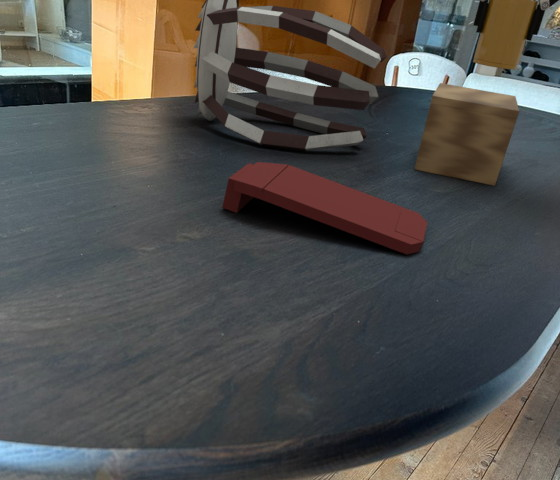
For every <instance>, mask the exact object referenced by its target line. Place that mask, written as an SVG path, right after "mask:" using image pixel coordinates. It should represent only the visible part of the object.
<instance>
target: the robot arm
mask: <svg viewBox="0 0 560 480" xmlns="http://www.w3.org/2000/svg"><path fill="white" fill-rule="evenodd" d="M537 1H538V3H537V6H536V10H535V13H534V16H533V19H532V22H531V25H530V28H529V32H528V35H527V38H526V41H529V42H531V41H532V40H533V37H534V36H538V34H539V31H540V29H541V25H542V22H543V20H544V16H545V12H546V11H547V10H548V9H549V8H551V7H552V6H554V5H556V3H558V2H560V0H537ZM488 5H489V0H479V1H478V7H477V10H476V14H475V17H474V21H473V25H472V26H475V27H476V31H475V32H476V33H477V34H478V33H479V34H480V33H481V31H482V27H483V24H484V20H485V16H486V13H487V9H488Z"/></svg>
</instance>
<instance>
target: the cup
mask: <svg viewBox="0 0 560 480" xmlns="http://www.w3.org/2000/svg"><path fill="white" fill-rule="evenodd" d="M488 3H489V5H488V9H487V13H486V16H485V20H484V24H483V27H482V31H481V32H480V33H479V37H478V40H477V44H476V48H475V51H474V56H473V59H472V62H473V63H475V64H477V65H481V66H486V67H491V68H497V69H503V70H504V69H505V70H517V69H518V67H519V64H520V61H521V57H522V54H523V51H524V48H525V44H526V41H527V40H526V38H527V35H528V32H529V28H530V25H531V22H532V19H533V16H534V13H535V10H536V8H537V5H538V4H539V3H538V0H488Z"/></svg>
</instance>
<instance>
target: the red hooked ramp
mask: <svg viewBox="0 0 560 480" xmlns="http://www.w3.org/2000/svg"><path fill="white" fill-rule="evenodd" d="M254 198H255V199H259V200H262V201H264V202H266V203H269V204H272V205H274V206H276V207H280V208H282V209H285V210H288V211H290V212H293V213H295V214H298V215H301V216H304V217H306V218H309V219H311V220H314V221H317V222H320V223H322V224H324V225H328V226H330V227H332V228H336V229H338V230H341V231H342V232H346V233H348V234H351V235H354V236H356V237H359V238H362V239H365V240H367V241H370V242H372V243H375V244H377V245H380V246H383V247H386V248H387V249H391V250H394V251H396V252H398V253H402V254H404V255H410V254H415V253H419V252H420V251H421V248H422V246H423V244H424V241H425V236H426V232H427V226H428V221H427V220H426V219H425V218H424V217H423V216H422V214H420V213H419V212H417V211H414V210H412V209H408V208H407V207H404V206H400V205H398V204H396V203H392V202H390V201H387V200H384V199H381V198H379V197H377V196H374V195H371V194H368V193H366V192H363V191H360V190H357V189H355V188H352V187H350V186H347V185H344V184H342V183H338V182H336V181H333V180H330V179H328V178H325V177H323V176H320V175H317V174H315V173H311V172H309V171H306V170H304V169H302V168H298V167H296V166H293V165H289V164H286V163H285V164H284V163H275V162H274V163H273V162H262V161H257V162H255V163H251V162H249V163H247V164H246V165H244V166H243V167H242V168H240V169H239V170H237V171H236V172H235V173H233V174H232V175H231V176H229V177H228V180H227V185H226V188H225V193H224V198H223V201H222V208H223V209H225V210H228V211H231V212H233V213H235V214H237V213H239V212H240V211H241V210H242V209H243V208H244V207H245V206H246V205H247V204H249V203H250V201H252V200H253V199H254Z"/></svg>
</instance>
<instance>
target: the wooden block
mask: <svg viewBox="0 0 560 480" xmlns="http://www.w3.org/2000/svg"><path fill="white" fill-rule="evenodd" d="M519 114H520V109H519V105H518V101H517V96H516V95H511V94H506V93H499V92H494V91H489V90H483V89H478V88H471V87H466V86H459V85H453V84H450V83H443V82H439V84H438V86H437V87H436V89H435V90H434V92H433V94H432V96H431V99H430V104H429V107H428V112H427V117H426V120H425V124H424V128H423V131H422V137H421V140H420V145H419V148H418V152H417V157H416V161H415V165H414V170H415V171H419V172H424V173H429V174H433V175H434V174H435V175H440V176H444V177H449V178H454V179H460V180H464V181H468V182H469V181H470V182H473V183H474V182H475V183H480V184H484V185H489V186H493V187H495V186H496V184H497V181H498V178H499V175H500V172H501V169H502V166H503V163H504V160H505V157H506V153H507V151H508V148H509V144H510V142H511V138H512V135H513V132H514V129H515V126H516V124H517V120H518V117H519Z"/></svg>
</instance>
